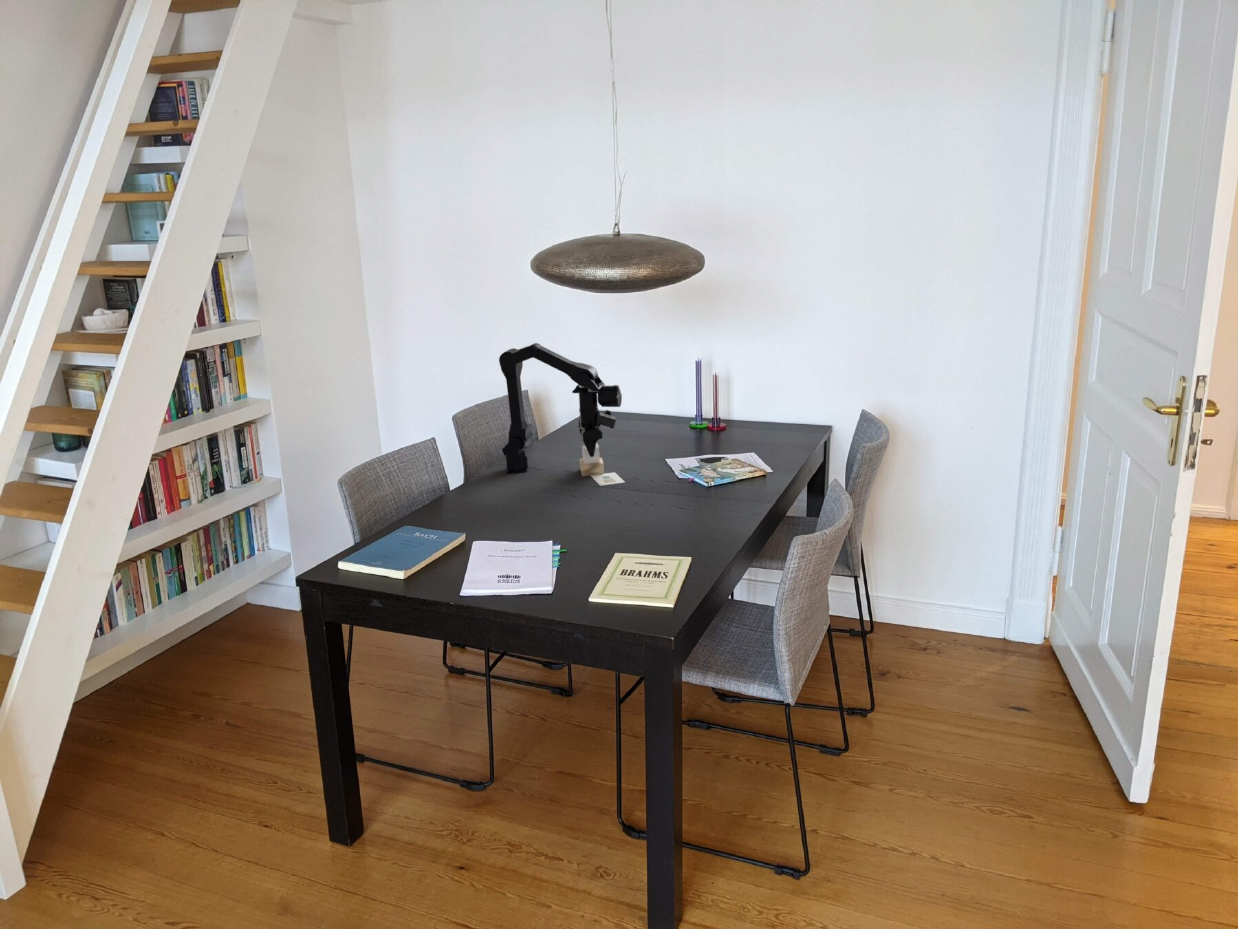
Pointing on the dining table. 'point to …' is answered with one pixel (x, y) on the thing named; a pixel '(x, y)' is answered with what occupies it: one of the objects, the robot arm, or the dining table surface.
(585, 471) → the oak base
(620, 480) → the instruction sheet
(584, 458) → the white cube
